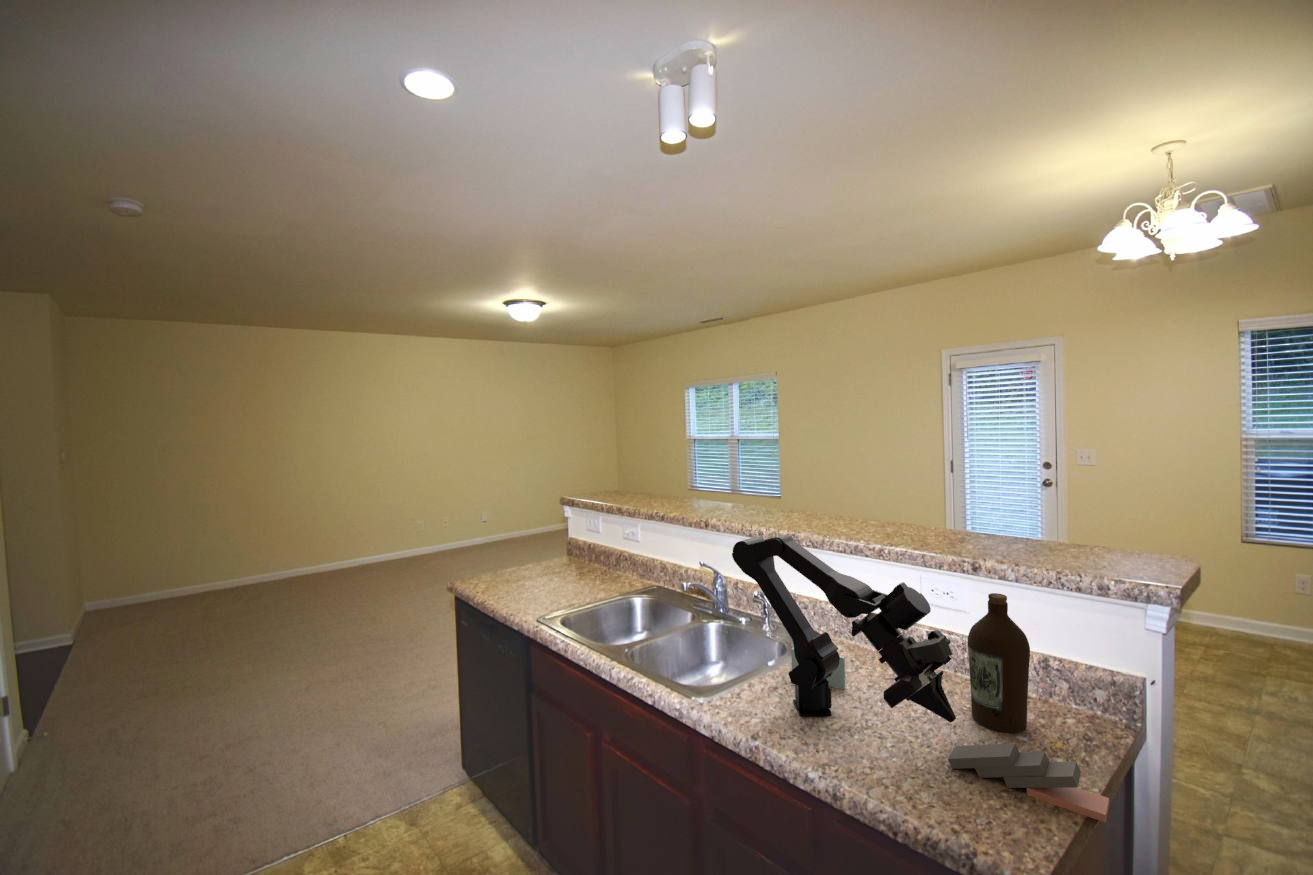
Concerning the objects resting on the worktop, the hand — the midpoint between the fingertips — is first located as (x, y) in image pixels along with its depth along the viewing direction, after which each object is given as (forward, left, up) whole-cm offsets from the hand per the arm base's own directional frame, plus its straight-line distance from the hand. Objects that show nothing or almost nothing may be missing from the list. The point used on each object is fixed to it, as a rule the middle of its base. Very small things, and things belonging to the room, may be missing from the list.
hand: (953, 720), depth 103 cm
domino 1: (0, 0, -6) cm, 6 cm away
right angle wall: (-12, +36, -8) cm, 39 cm away
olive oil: (+15, +13, -7) cm, 21 cm away
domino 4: (+8, -8, -7) cm, 13 cm away
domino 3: (+6, -6, -6) cm, 11 cm away
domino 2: (+3, -3, -6) cm, 8 cm away
